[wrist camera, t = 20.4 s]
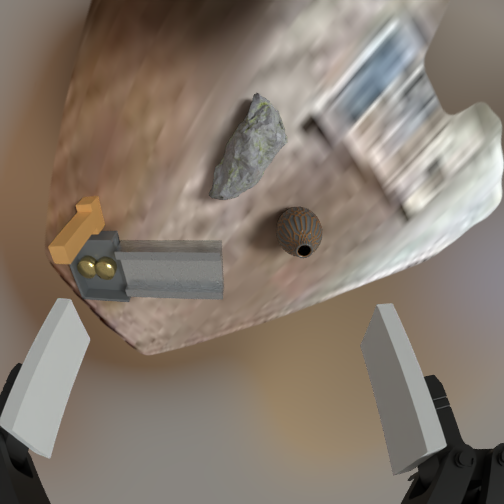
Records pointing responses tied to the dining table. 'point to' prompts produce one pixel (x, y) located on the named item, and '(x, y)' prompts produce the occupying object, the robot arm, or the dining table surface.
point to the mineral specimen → (249, 150)
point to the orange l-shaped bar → (77, 231)
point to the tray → (96, 286)
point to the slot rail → (172, 268)
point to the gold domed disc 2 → (106, 268)
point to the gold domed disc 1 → (87, 266)
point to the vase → (299, 232)
